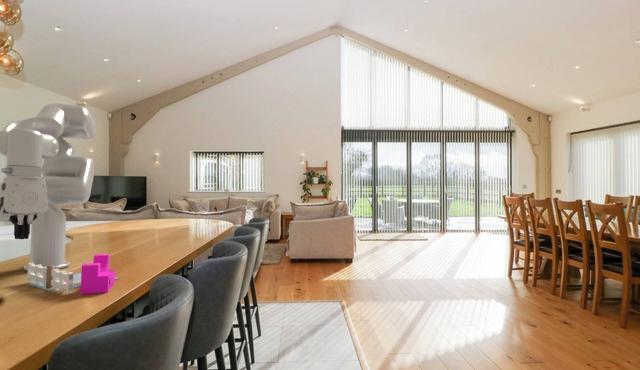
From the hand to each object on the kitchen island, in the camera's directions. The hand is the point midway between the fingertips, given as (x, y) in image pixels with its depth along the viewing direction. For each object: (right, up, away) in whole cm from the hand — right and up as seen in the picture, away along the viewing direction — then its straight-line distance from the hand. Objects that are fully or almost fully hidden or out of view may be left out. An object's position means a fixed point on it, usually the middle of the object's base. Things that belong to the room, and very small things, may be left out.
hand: (21, 238), depth 98 cm
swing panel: (+3, -13, +2) cm, 13 cm away
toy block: (+21, -14, +2) cm, 25 cm away
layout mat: (+10, -14, +7) cm, 18 cm away
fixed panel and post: (+13, -14, -4) cm, 19 cm away
